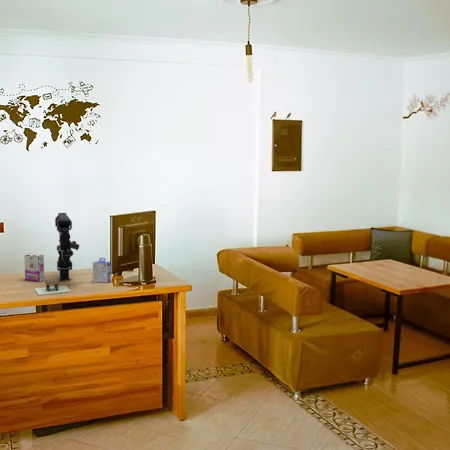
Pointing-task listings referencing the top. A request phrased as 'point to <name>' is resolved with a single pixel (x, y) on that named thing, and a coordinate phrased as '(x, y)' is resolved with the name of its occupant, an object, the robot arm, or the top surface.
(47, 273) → the top surface
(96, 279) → the ink cartridge box
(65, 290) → the felt mat
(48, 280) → the walnut stool
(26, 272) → the candy bar box
